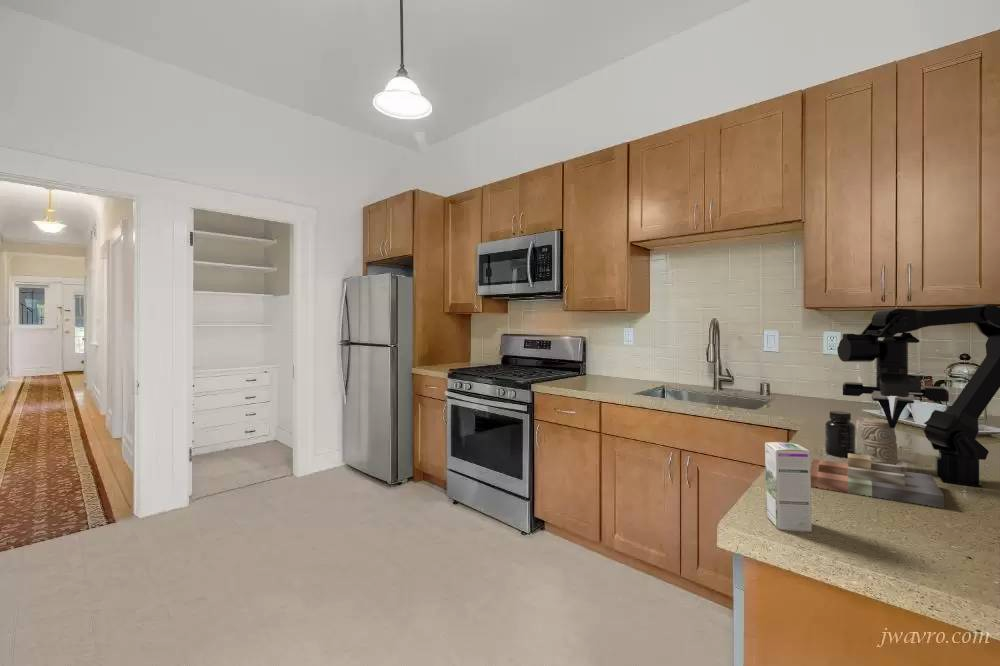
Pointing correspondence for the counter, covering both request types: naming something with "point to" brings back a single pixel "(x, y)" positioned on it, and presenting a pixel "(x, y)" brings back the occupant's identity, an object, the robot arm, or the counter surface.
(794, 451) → the syrup box
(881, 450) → the carving
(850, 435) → the supplement bottle
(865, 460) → the maple block
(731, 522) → the counter surface
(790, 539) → the counter surface
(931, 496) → the channel deck
